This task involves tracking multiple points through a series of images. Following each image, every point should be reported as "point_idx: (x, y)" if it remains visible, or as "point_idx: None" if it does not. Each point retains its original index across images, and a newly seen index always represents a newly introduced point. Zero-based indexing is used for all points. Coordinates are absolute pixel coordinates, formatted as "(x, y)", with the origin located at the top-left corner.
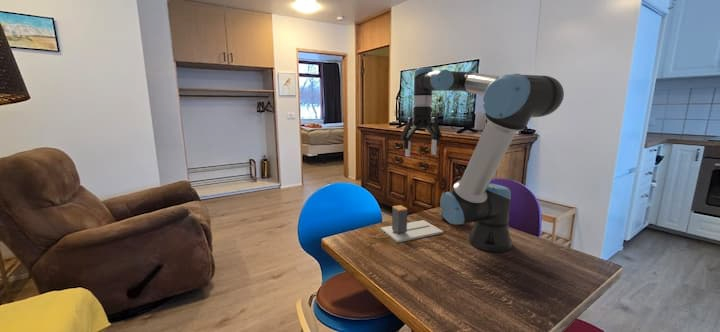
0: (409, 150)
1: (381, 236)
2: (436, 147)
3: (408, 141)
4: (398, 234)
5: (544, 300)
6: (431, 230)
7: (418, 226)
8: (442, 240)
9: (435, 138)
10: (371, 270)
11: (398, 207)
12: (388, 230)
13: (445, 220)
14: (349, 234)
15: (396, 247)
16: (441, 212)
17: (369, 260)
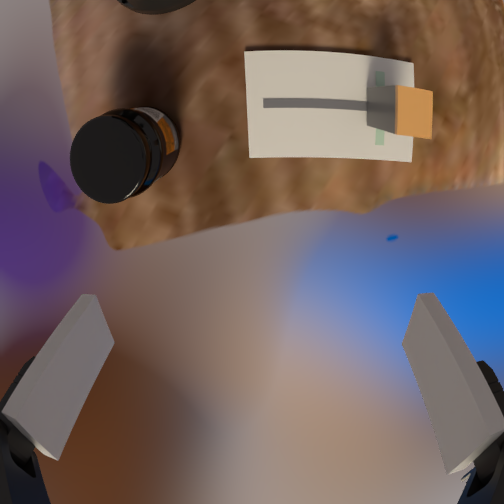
0: (455, 340)
1: None
2: (44, 345)
3: (487, 444)
4: None
5: None
6: (278, 69)
7: (300, 115)
8: (280, 14)
9: (10, 443)
10: (494, 11)
11: (419, 115)
12: None
13: (178, 131)
14: (480, 174)
15: (423, 44)
16: (171, 163)
17: (490, 39)
